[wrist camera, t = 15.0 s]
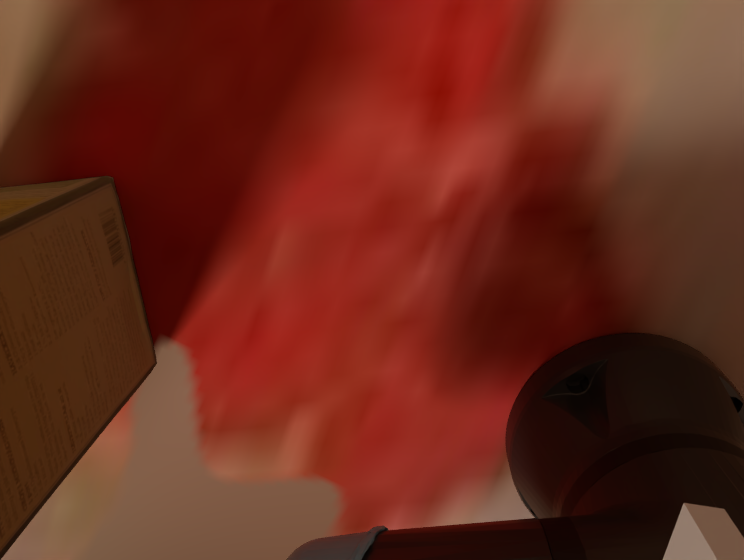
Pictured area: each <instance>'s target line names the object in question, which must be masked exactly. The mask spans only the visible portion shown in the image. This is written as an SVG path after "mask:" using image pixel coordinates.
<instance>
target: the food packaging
mask: <svg viewBox="0 0 744 560" xmlns="http://www.w3.org/2000/svg"><path fill="white" fill-rule="evenodd" d="M156 364H157V361H156V355H155V350H154V347H153V342H152V337H151V333H150V329H149V325H148V321H147V316H146V312H145V308H144V304H143V299H142V295H141V291H140V286H139V282H138V277H137V273H136V269H135V265H134V261H133V257H132V251H131V245H130V239H129V235H128V232H127V228H126V225H125V221H124V217H123V214H122V210H121V206H120V202H119V198H118V195H117V192H116V188H115V184H114V180H113V177H109V176H101V177H92V178H84V179H76V180H67V181H59V182H50V183H41V184H30V185H21V186H13V187H1V188H0V560H1V558H2V557H3V556H4V554H5V553H6V552H7V551H8V549H9V548H10V547H11V546H12V544H13V543H14V542H15V541H16V539H17V538H18V537H19V535H20V534H21V533H22V532H23V530H24V529H25V528H26V527H27V525H28V524H29V523H30V521H31V520H32V519H33V518H34V516H35V515H36V514H37V513H38V511H39V510H40V509H41V508H42V506H43V505H44V504H45V503H46V501H47V500H48V499H49V498H50V496H51V495H52V494H53V493H54V491H55V490H56V489H57V488H58V486H59V485H60V484H61V483H62V481H63V480H64V479H65V478H66V477H67V475H68V474H69V473H70V472H71V470H72V469H73V468H74V467H75V465H76V464H77V463H78V462H79V460H80V459H81V458H82V457H83V455H84V454H85V453H86V452H87V450H88V449H89V448H90V447H91V445H92V444H93V443H94V442H95V440H96V439H97V438H98V437H99V435H100V434H101V433H102V432H103V431H104V429H105V428H106V427H107V426H108V424H109V423H110V422H111V421H112V419H113V418H114V417H115V416H116V414H117V413H118V412H119V411H120V410H121V408H122V407H123V406H124V405H125V404H126V402H127V401H128V400H129V399H130V398H131V396H132V395H133V394H134V393H135V392H136V390H137V389H138V388H139V387H140V385H141V384H142V383H143V382H144V380H145V379H146V378H147V376H148V375H149V374H150V373H151V371H152V370H153V368H154V367H155V365H156Z"/></svg>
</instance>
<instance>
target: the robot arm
mask: <svg viewBox="0 0 744 560" xmlns="http://www.w3.org/2000/svg"><path fill="white" fill-rule="evenodd" d="M506 452H507V458H508V462H509V466H510V470H511V475H512V479H513V482H514V485H515V487H516V490H517V492H518V494H519V496H520V498H521V500H522V501H523V503H524V505H525V506H526V508H527V509H528V510H529V511H530V513H531V514H532V515H533V516H534V517H535V518H532V519H520V520H508V521H496V522H484V523H471V524H459V525H447V526H435V527H423V528H411V529H399V530H388V528H386V527H385V526H377V527H373V528H372V529H371V530H369V531H368V532H362V533H354V534H347V535H340V536H333V537H325V538H318V539H315V540H311V541H309V542H307V543H305V544H303V545H301V546H300V547H299V548H297V549H296V550H295V551H294V552H293V553H292V554H291V555H290V556H289V557H288V558H287V560H744V400H743V398H742V396H741V395H740V393H739V392H738V390H737V389H736V388H735V386H734V385H733V384H732V383H731V382H730V380H729V379H728V378H727V377H726V376H725V375H724V374H723V373H722V372H721V371H720V370H719V369H718V368H717V366H716V365H715V364H714V363H713V362H711V361H710V360H709V359H708V358H707V357H705V356H704V355H703V354H701V353H700V352H698V351H697V350H695V349H693V348H692V347H690V346H688V345H686V344H683V343H681V342H679V341H676V340H673V339H670V338H666V337H662V336H657V335H651V334H640V333H625V334H615V335H608V336H603V337H599V338H595V339H592V340H588V341H586V342H583V343H580V344H578V345H576V346H573V347H571V348H569V349H567V350H565V351H563V352H562V353H560V354H558V355H557V356H555V357H554V358H552V359H551V360H550V361H548V362H547V363H546V364H545V365H543V366H542V367H541V368H540V369H539V370H538V371H537V372H536V373H535V374H534V375H533V376H532V377H531V378H530V379H529V381H528V382H527V383H526V384H525V386H524V387H523V389H522V390H521V391H520V393H519V395H518V397H517V398H516V400H515V402H514V404H513V407H512V409H511V412H510V415H509V419H508V423H507V428H506Z"/></svg>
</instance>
